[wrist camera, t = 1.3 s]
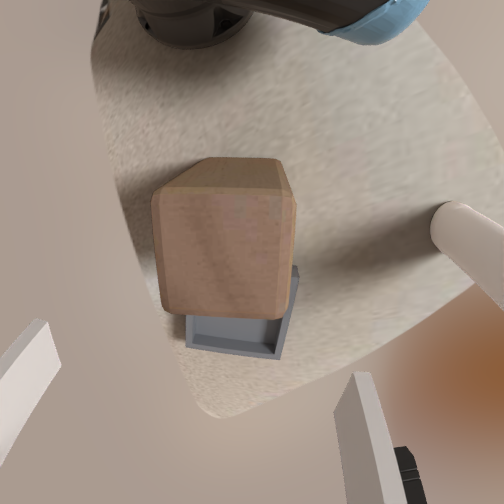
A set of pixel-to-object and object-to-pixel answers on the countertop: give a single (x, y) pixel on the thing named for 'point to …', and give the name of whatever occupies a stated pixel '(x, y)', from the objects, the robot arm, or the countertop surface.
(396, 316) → the countertop surface
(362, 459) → the robot arm
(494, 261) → the bottle
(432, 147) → the countertop surface
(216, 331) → the tray
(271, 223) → the wooden block
